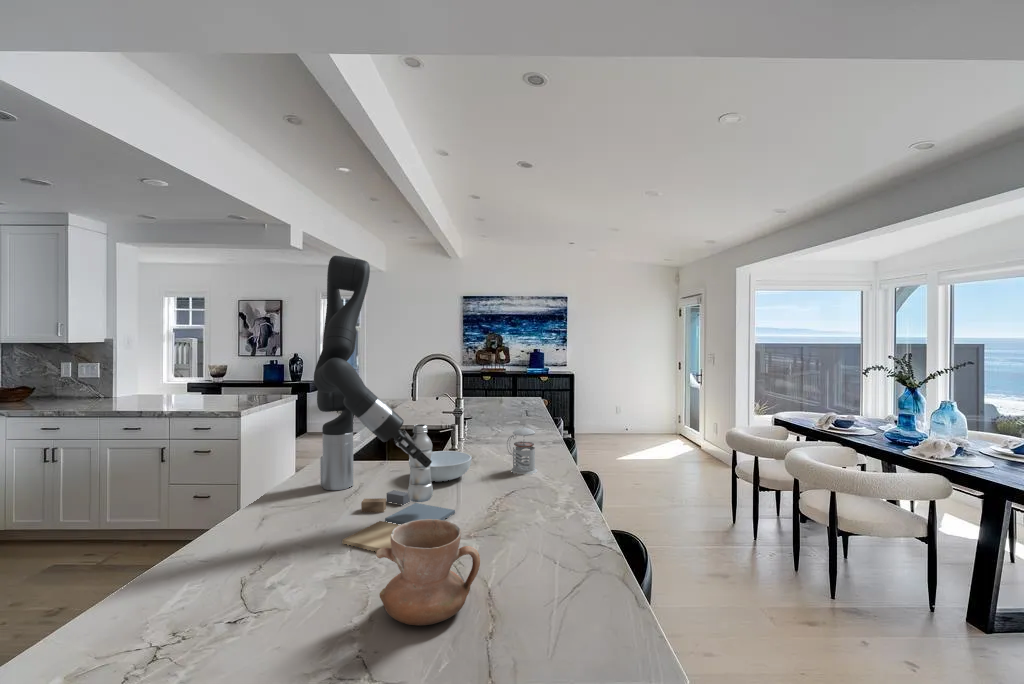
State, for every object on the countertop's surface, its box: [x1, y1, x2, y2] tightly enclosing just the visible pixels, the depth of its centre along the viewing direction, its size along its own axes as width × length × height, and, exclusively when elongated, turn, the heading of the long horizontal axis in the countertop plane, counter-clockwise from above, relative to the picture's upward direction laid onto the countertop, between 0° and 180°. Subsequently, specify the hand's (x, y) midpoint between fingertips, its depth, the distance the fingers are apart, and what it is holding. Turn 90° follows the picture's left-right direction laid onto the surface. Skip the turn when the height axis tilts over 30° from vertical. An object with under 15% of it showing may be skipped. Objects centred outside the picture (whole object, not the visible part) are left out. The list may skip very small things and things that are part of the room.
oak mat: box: [341, 520, 399, 553], centre depth 120 cm, size 13×13×1 cm
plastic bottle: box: [407, 423, 434, 503], centre depth 133 cm, size 6×7×20 cm
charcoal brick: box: [386, 489, 411, 506], centre depth 145 cm, size 6×3×3 cm, turn 63°
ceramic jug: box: [375, 519, 481, 626], centre depth 89 cm, size 18×14×14 cm
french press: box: [506, 400, 538, 475], centre depth 179 cm, size 10×12×25 cm
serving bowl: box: [408, 450, 472, 483], centre depth 170 cm, size 21×21×7 cm
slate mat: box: [384, 502, 456, 524], centre depth 133 cm, size 13×13×1 cm
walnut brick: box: [360, 497, 387, 513], centre depth 139 cm, size 6×3×3 cm, turn 92°
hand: (426, 461), depth 134 cm, fingers closed on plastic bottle, 6 cm apart
